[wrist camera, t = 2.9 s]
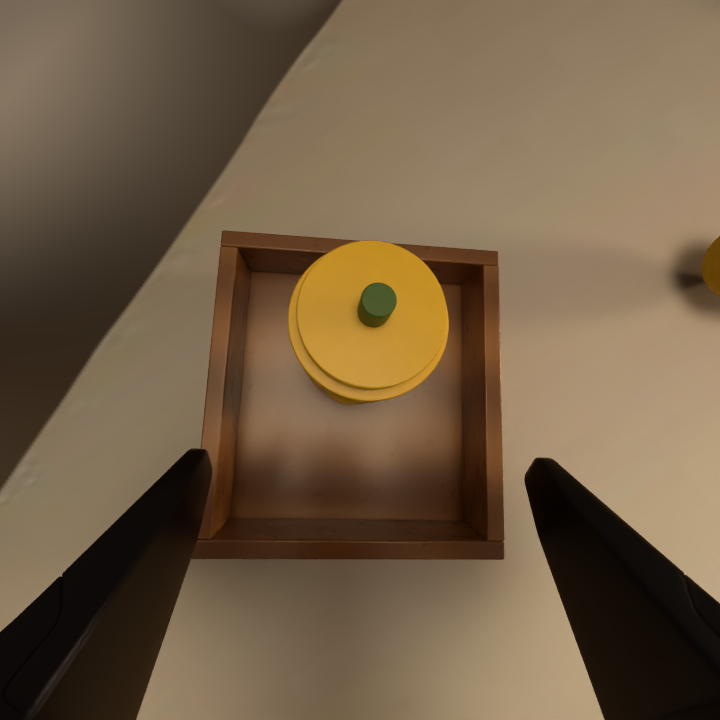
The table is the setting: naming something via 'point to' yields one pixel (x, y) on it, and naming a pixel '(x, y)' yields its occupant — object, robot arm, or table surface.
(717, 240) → the lemon
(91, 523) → the table surface
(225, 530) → the wooden tray
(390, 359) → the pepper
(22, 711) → the robot arm
